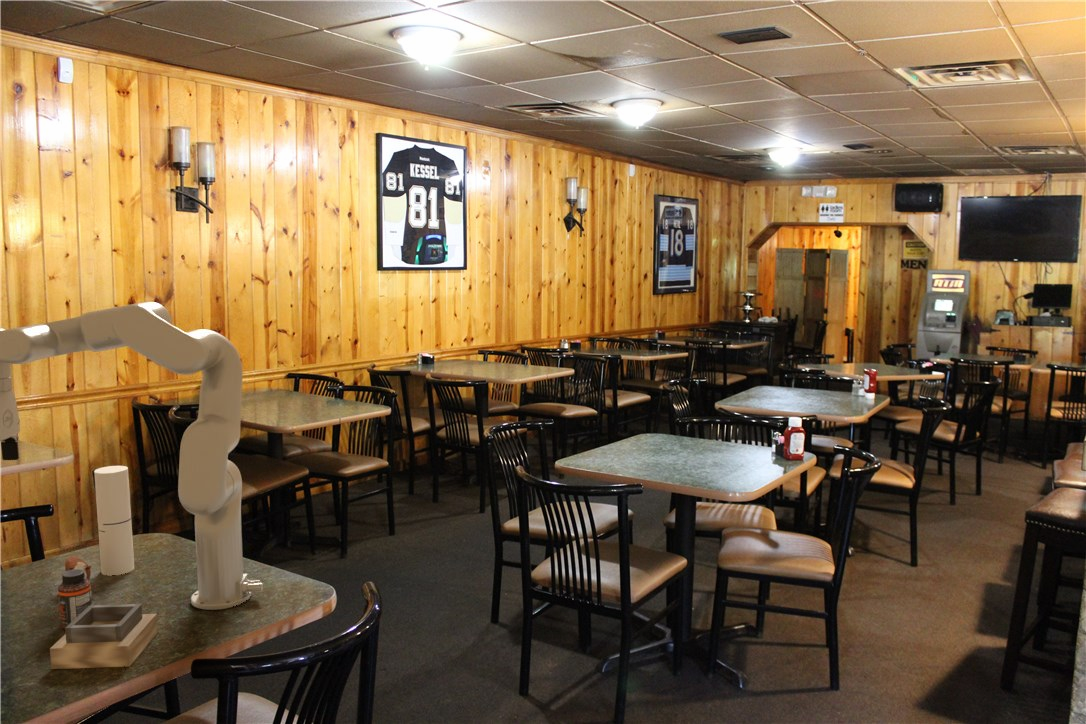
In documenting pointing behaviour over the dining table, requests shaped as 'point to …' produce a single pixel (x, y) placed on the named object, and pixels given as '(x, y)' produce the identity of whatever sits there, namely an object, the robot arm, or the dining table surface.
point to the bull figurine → (78, 566)
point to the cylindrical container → (114, 520)
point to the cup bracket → (104, 637)
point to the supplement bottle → (73, 595)
